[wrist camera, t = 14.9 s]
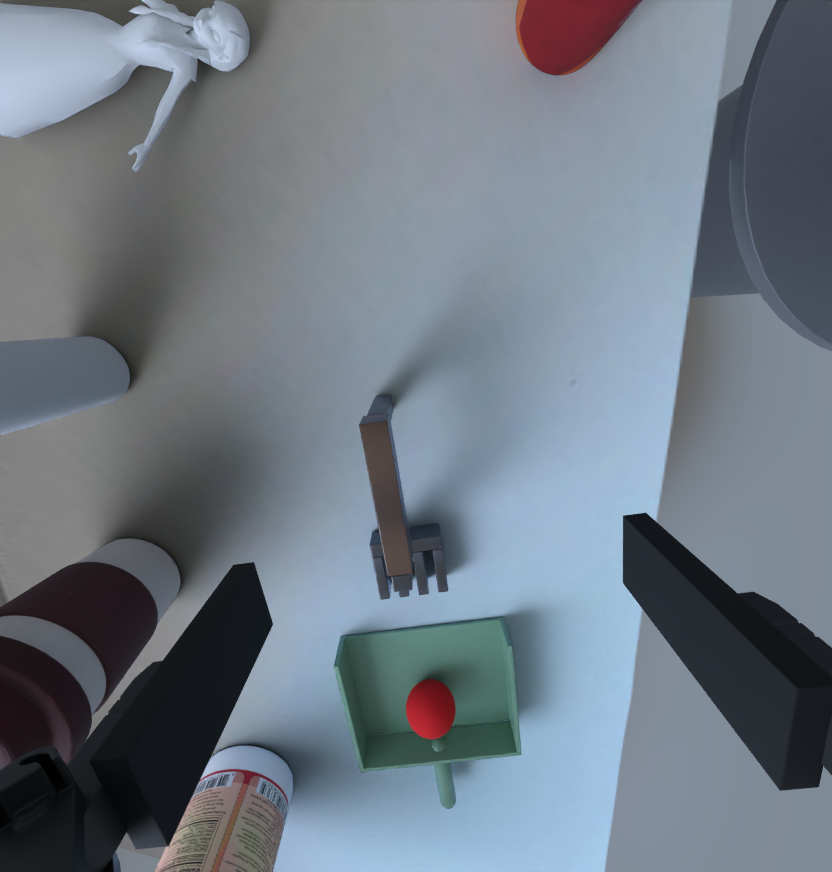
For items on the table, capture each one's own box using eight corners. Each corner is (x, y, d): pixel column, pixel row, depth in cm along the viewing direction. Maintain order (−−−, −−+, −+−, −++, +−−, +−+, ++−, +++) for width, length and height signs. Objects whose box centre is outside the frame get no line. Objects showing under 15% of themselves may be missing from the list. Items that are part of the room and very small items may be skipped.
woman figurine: (-197, -107, 18) (199, -157, 19) (-87, -26, 23) (233, -69, 23) (-68, 182, 22) (264, 132, 22) (6, 204, 26) (283, 162, 26)
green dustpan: (340, 636, 36) (333, 667, 33) (503, 616, 36) (512, 645, 33) (377, 790, 42) (374, 829, 39) (518, 775, 42) (526, 813, 38)
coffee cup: (216, 608, 35) (81, 810, 21) (112, 630, 36) (-89, 841, 22) (170, 509, 32) (-23, 664, 18) (58, 535, 33) (-215, 705, 19)
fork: (346, 400, 30) (323, 429, 22) (420, 389, 30) (423, 415, 22) (382, 584, 35) (373, 660, 27) (446, 576, 35) (456, 651, 27)
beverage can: (74, 324, 28) (-159, 331, 17) (142, 353, 29) (-37, 378, 17) (61, 386, 29) (-163, 432, 18) (127, 412, 30) (-49, 473, 19)
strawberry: (463, 736, 33) (452, 738, 36) (456, 674, 36) (447, 681, 39) (410, 740, 32) (404, 741, 36) (407, 676, 35) (402, 684, 38)
